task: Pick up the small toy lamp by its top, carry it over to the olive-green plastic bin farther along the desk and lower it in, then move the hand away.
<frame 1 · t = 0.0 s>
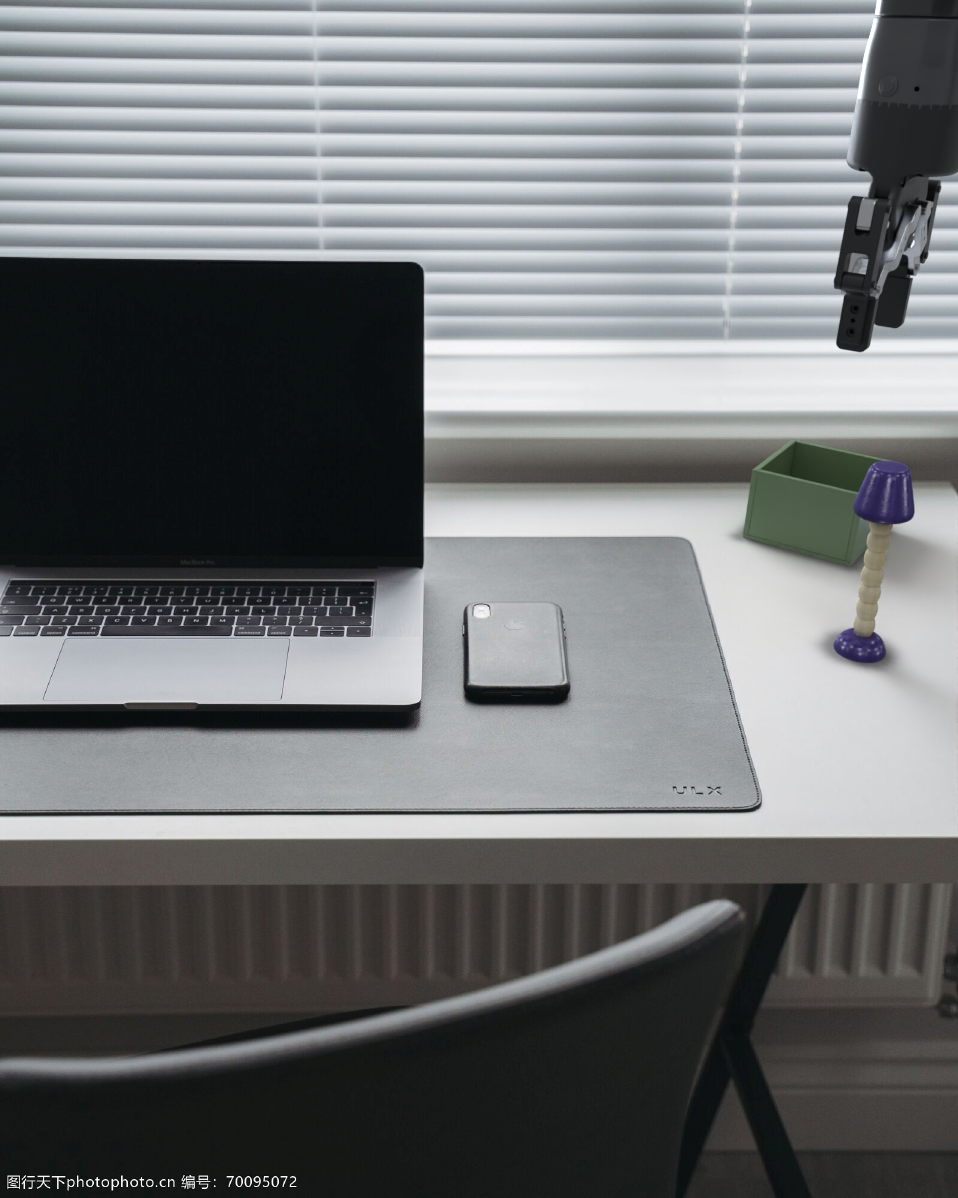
hand: (870, 337, 81), 27 cm above the table, tool pointing down, fingers open, 8 cm apart
bin: (813, 534, 115), on the table
toy lamp: (854, 652, 94), on the table
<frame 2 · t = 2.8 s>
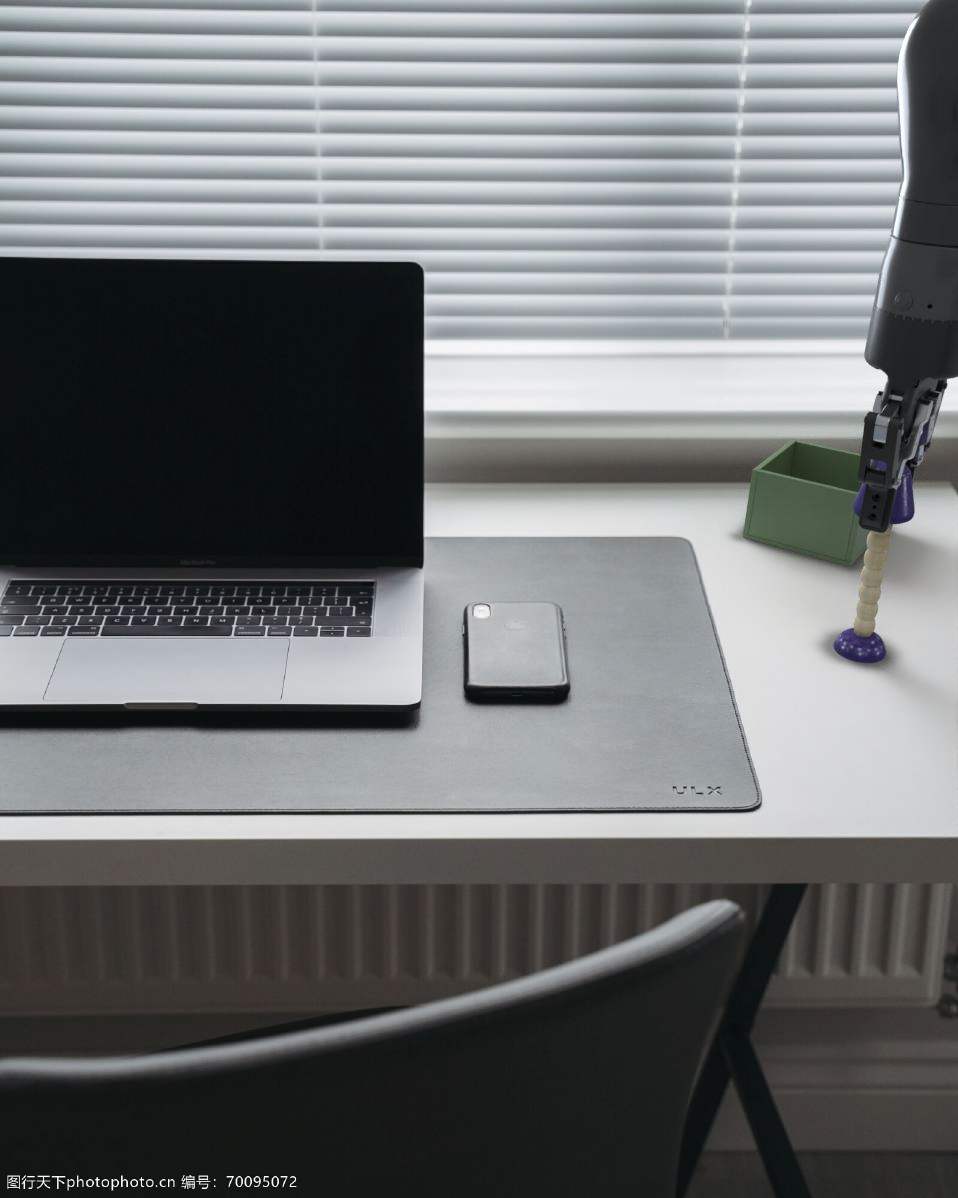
hand: (883, 517, 88), 12 cm above the table, tool pointing down, fingers closed on toy lamp, 4 cm apart
toy lamp: (854, 652, 94), on the table, touching gripper
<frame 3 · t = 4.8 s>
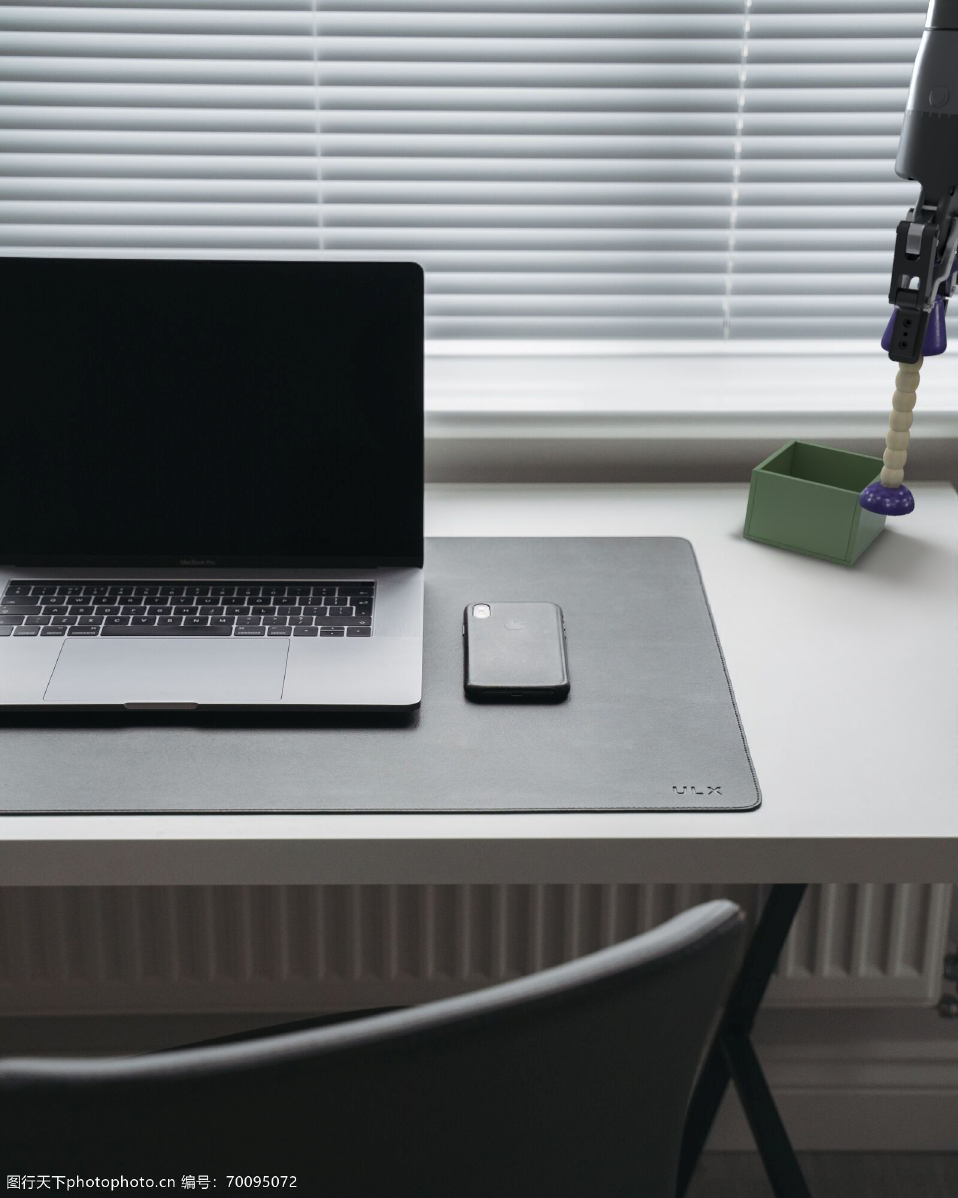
hand: (913, 352, 83), 25 cm above the table, tool pointing down, fingers closed on toy lamp, 4 cm apart
toy lamp: (881, 507, 89), point 13 cm above the table, touching gripper
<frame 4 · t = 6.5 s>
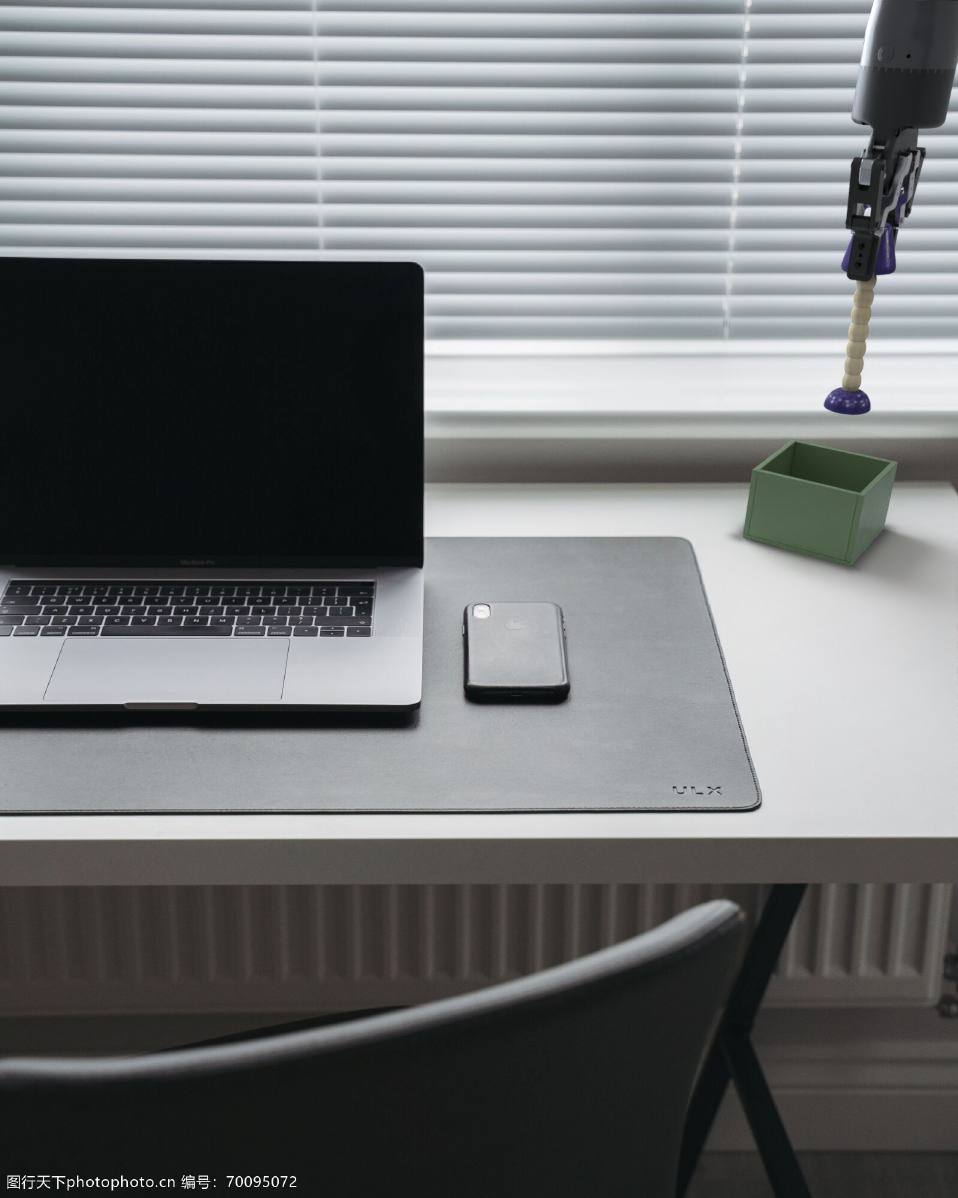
hand: (868, 273, 98), 27 cm above the table, tool pointing down, fingers closed on toy lamp, 4 cm apart
toy lamp: (843, 409, 104), point 15 cm above the table, touching gripper
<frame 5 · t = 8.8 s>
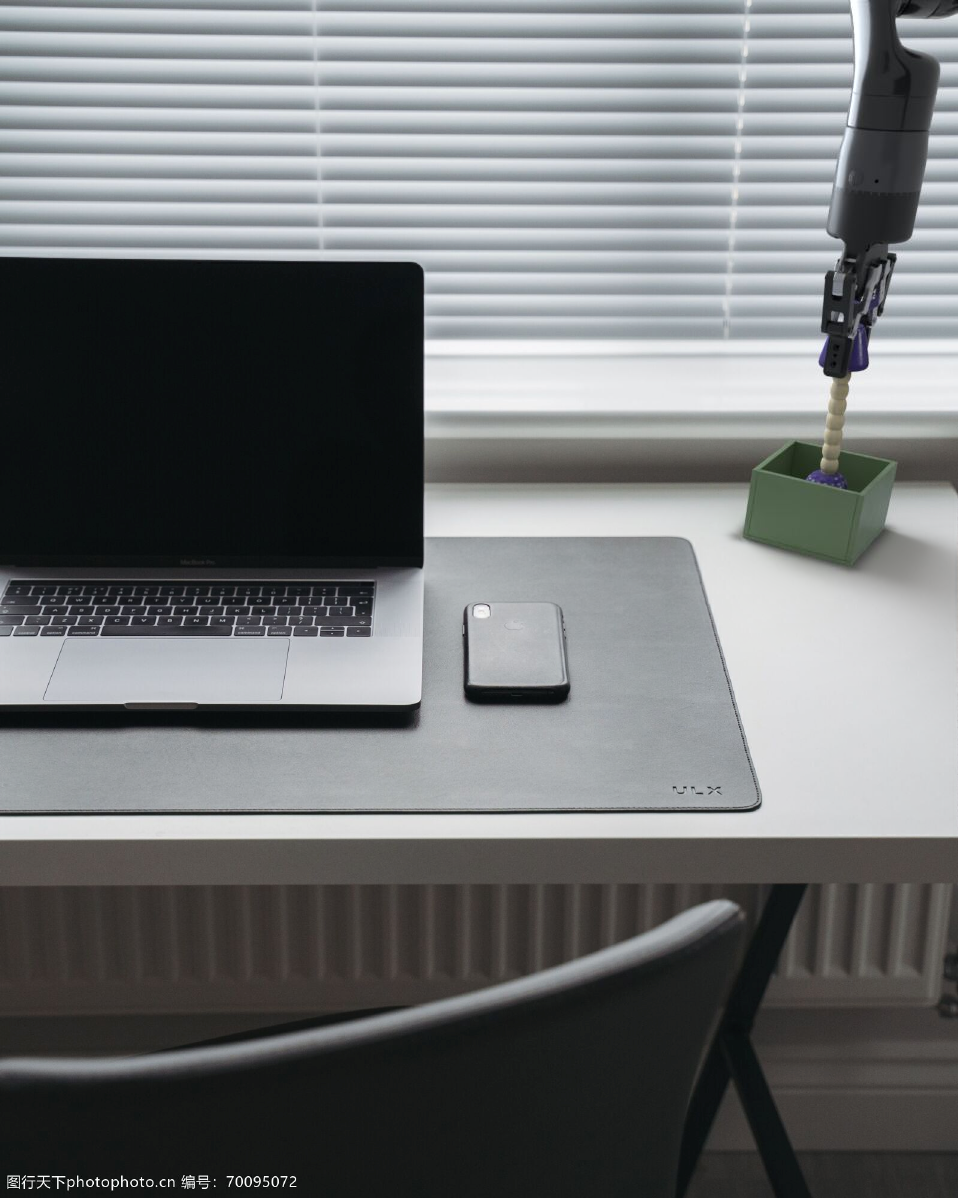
hand: (843, 369, 106), 18 cm above the table, tool pointing down, fingers closed on toy lamp, 4 cm apart
toy lamp: (821, 490, 112), point 5 cm above the table, touching gripper
when the fingers open (13 cm above the table, at t = 10.5 s): toy lamp stays where it is, resting on bin.
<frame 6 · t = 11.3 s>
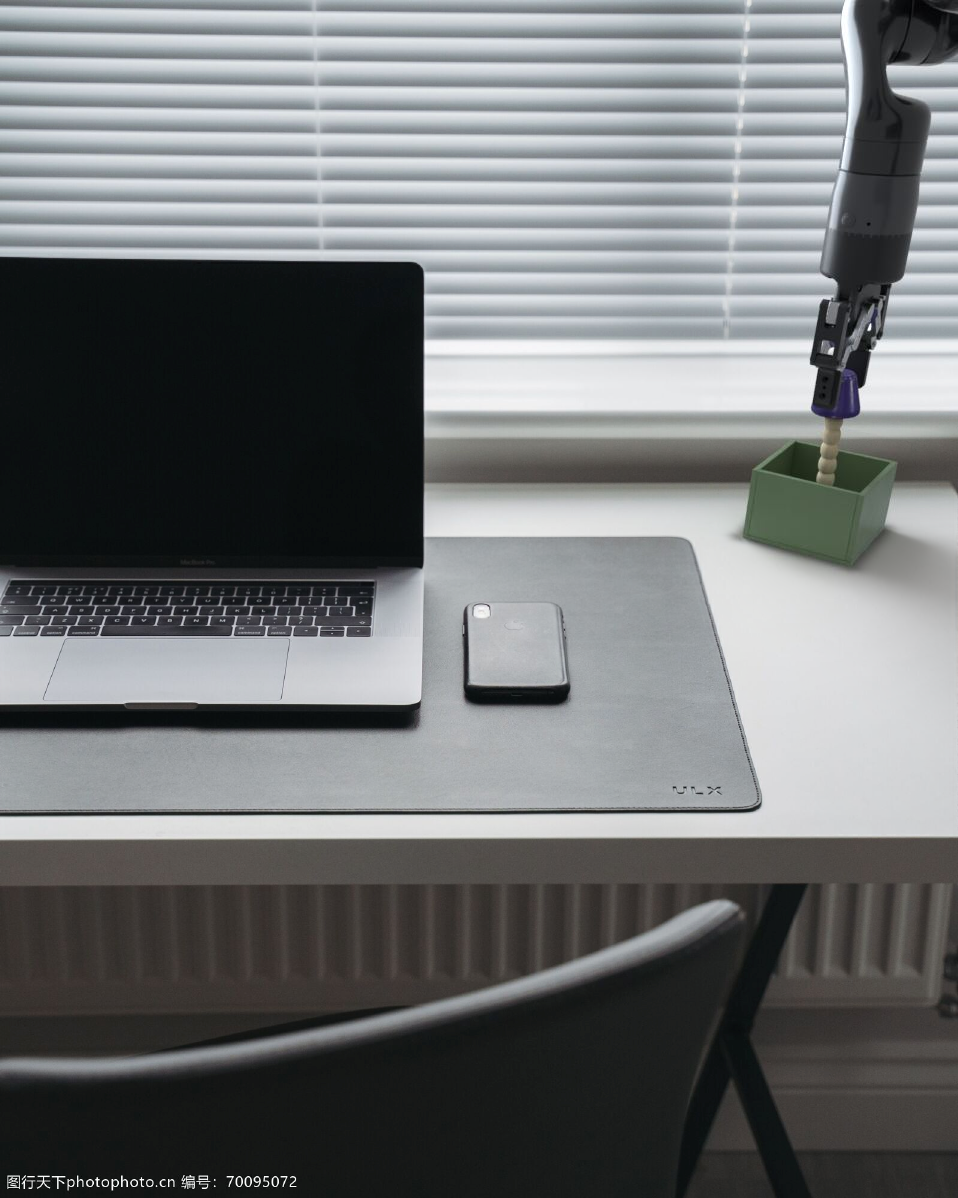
hand: (838, 396, 108), 15 cm above the table, tool pointing down, fingers open, 8 cm apart
toy lamp: (814, 531, 114), resting on bin
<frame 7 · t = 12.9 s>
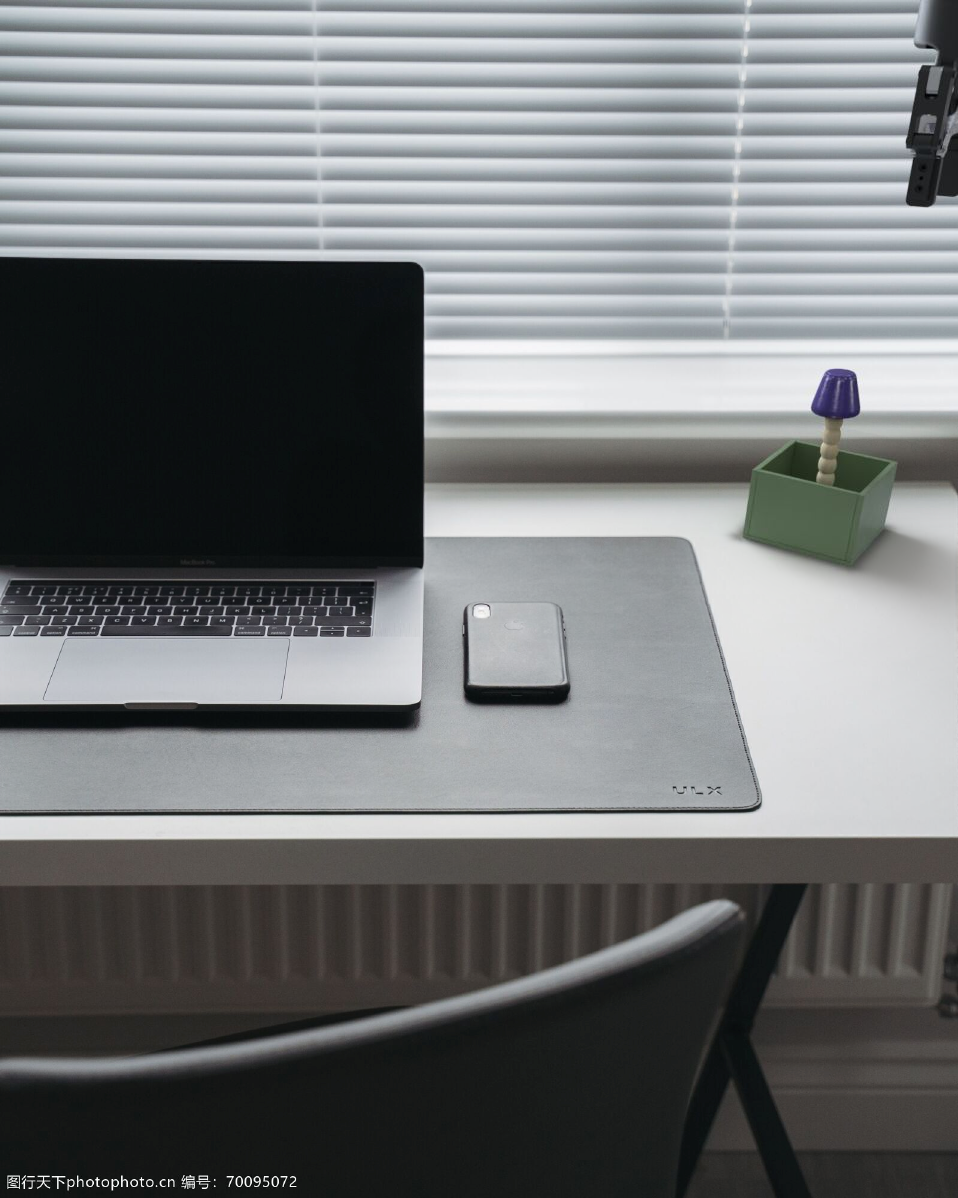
hand: (933, 200, 93), 34 cm above the table, tool pointing down, fingers open, 8 cm apart
nothing on the table moved.
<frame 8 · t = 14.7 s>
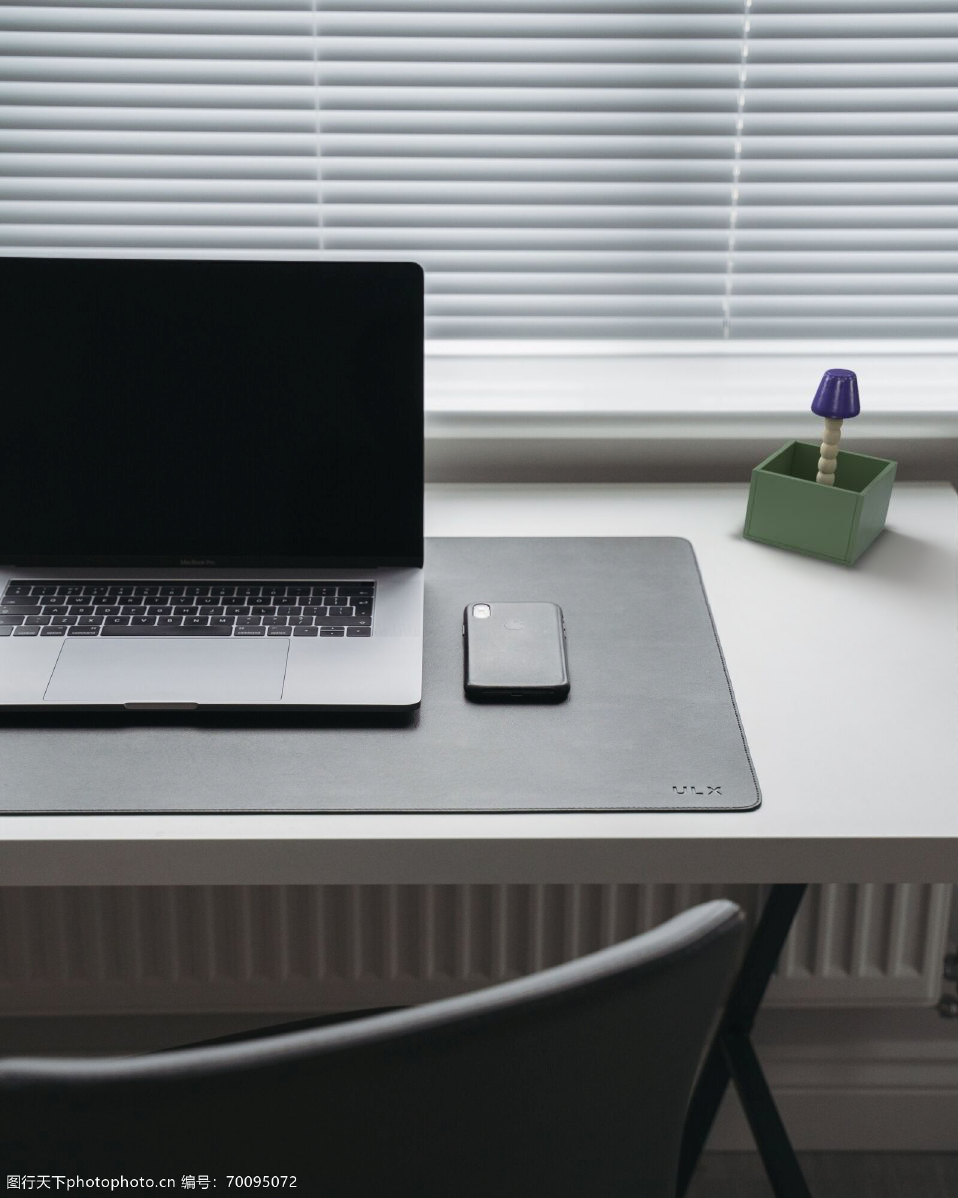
nothing on the table moved.
at the end: toy lamp inside the target area in the bin (0.1 cm from its centre), point 0.4 cm above the bin's base; the gripper is holding nothing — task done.
